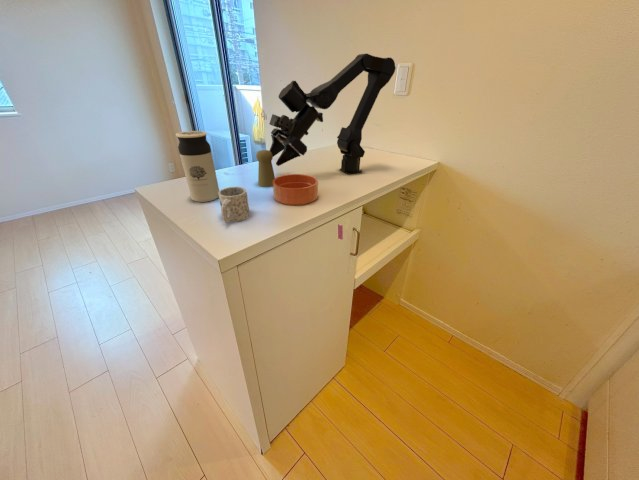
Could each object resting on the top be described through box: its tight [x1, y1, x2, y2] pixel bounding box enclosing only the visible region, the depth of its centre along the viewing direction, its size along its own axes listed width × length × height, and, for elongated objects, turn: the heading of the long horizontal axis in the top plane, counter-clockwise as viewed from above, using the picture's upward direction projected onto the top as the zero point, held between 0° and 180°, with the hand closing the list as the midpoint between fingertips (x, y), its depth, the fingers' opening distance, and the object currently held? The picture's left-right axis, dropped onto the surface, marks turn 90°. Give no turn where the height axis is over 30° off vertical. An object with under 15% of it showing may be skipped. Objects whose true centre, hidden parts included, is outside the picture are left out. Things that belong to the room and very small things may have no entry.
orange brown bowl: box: [272, 173, 319, 206], centre depth 77 cm, size 13×13×5 cm
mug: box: [218, 186, 251, 224], centre depth 64 cm, size 10×7×7 cm, turn 174°
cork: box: [255, 149, 276, 188], centre depth 85 cm, size 6×6×11 cm
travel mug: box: [175, 130, 220, 203], centre depth 72 cm, size 8×8×18 cm
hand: (272, 161), depth 85 cm, fingers open, 9 cm apart
